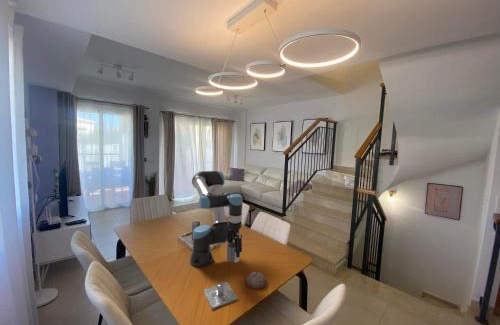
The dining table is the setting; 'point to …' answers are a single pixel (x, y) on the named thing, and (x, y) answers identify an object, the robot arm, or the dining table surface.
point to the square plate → (219, 295)
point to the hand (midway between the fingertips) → (233, 257)
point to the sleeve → (231, 252)
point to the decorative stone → (256, 280)
